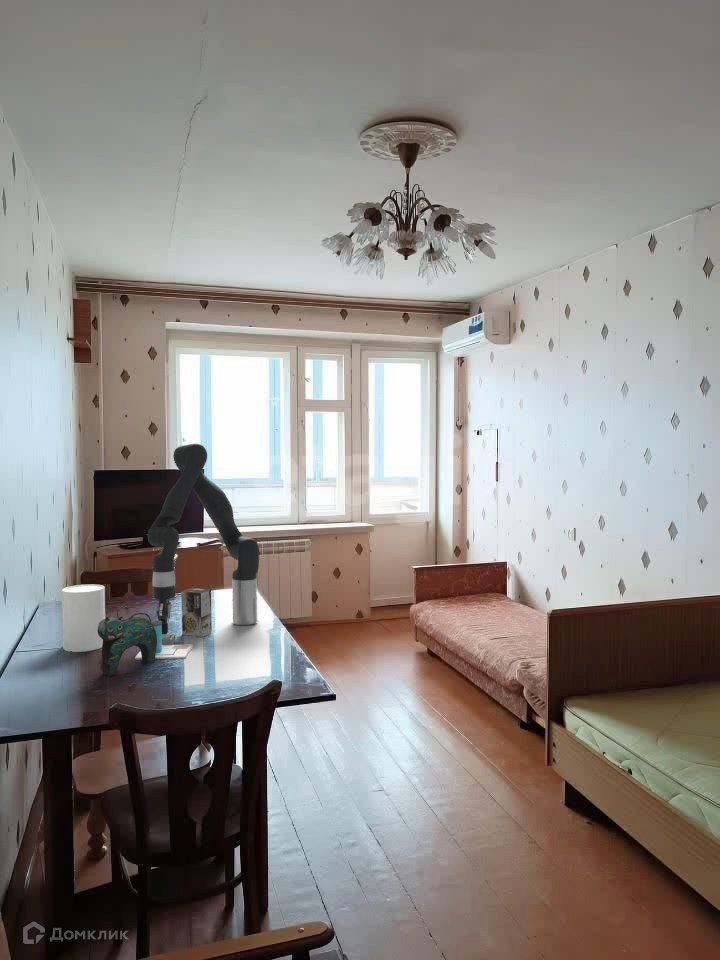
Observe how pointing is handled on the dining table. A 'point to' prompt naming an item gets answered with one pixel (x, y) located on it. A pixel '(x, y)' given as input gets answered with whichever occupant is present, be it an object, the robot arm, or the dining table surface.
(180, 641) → the dining table surface
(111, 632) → the ceramic cat
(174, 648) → the sheet
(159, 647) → the teal capped bottle
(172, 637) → the button housing
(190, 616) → the coffee box
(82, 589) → the canister
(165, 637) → the button
